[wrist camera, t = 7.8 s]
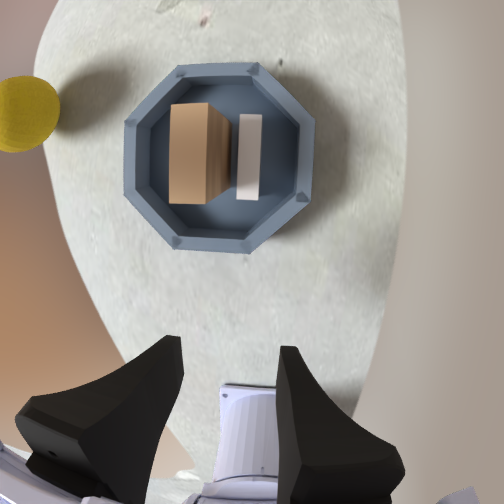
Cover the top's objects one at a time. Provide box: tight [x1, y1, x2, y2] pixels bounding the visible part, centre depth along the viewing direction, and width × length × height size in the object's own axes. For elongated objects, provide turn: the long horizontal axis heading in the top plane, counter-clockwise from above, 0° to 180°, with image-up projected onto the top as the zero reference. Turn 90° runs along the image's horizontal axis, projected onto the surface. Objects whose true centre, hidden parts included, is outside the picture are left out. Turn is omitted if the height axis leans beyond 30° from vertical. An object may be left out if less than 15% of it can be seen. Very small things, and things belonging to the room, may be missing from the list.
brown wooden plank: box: [169, 103, 232, 204], centre depth 14 cm, size 4×2×7 cm, turn 178°
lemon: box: [0, 76, 60, 152], centre depth 14 cm, size 6×6×8 cm
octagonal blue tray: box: [123, 62, 316, 254], centre depth 17 cm, size 11×11×3 cm
